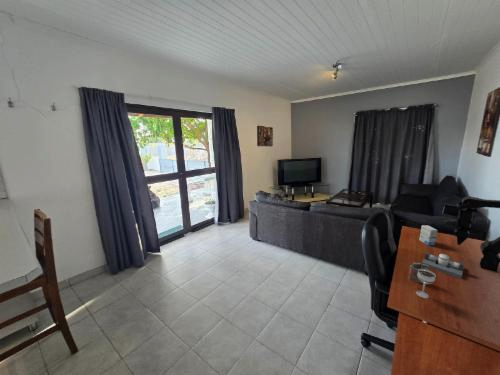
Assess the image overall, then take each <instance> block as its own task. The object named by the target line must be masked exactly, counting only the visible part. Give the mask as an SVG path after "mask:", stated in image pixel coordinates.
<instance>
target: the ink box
mask: <svg viewBox="0 0 500 375" xmlns="http://www.w3.org/2000/svg"><path fill="white" fill-rule="evenodd" d="M437 236H438V229H436V228H434V227H432V226H430V225H425V224H424V225H421V228H420V234H419V239H418V240H419V241H420V242H421V243H423V244H425V245H427V246H436V240H437Z"/></svg>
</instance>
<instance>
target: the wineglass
mask: <svg viewBox="0 0 500 375" xmlns="http://www.w3.org/2000/svg"><path fill="white" fill-rule="evenodd" d="M436 276H437V275H436V274H435V273H434V272H433V271H431V270H430V269H429V270H426V269H418V273H417V277H418V279H419V280H420V281H421V282H423V283H422V290H416V291H415V294H416V295H417V296H419V297H420V298H423V299H428V298H430V296H429V294H428V293H426V292H425V287H426V285H431V284H434V283H435V281H436Z"/></svg>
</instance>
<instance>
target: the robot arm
mask: <svg viewBox="0 0 500 375" xmlns="http://www.w3.org/2000/svg"><path fill="white" fill-rule="evenodd" d="M480 208H481V209H482V208H492V209H500V200H498V199H485V198H484V199H483V198H479V197H475V196H469V195H468V196H467V195H466V196H465V197H463V198H462V199H461V201H459V202H458V203H456V204H451V203H450V204H449V203H444V206H443V208H442V212H441V214H442V215H444V216H451V217H456V216H458V217H457V219H445V220H444V221H443V222H444V226H445V227H446V228H447V227H448V228H449V227H455V229H454V231H453V235H454V236H455V237H456V241H457V243H456V245H459V246H460V245H462V244H463V243H464V242H465V241H466V240H467V239H468V238H469V237H470V231H471V230H470V229H471V227H472V222H473V217H474V215H475V214H476V213H477V214H479V213H480V211H479V209H480ZM479 249H480V251H481V254H482V255H483V256H482V257H480V261H479V267H480V268H481V269H483V270H487V271H489V272H490V271H491V272H493V273H498V269H499V265H500V255H499V254H500V236H497V238H495V239H494V240H488V239H486V240H484V242H482V243H480V247H479Z"/></svg>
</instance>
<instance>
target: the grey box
mask: <svg viewBox="0 0 500 375" xmlns="http://www.w3.org/2000/svg"><path fill="white" fill-rule="evenodd" d="M418 269H426V270H429V271H430V268H428V265H425V264H422V263H421V262H412V264H410V265H409V271H408V275H407V276H408V277H407V279H408V280H409V281H413V282H416V283H421V284H423V282H421V281H420V280H419V279H418V277H417V273H418Z"/></svg>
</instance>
